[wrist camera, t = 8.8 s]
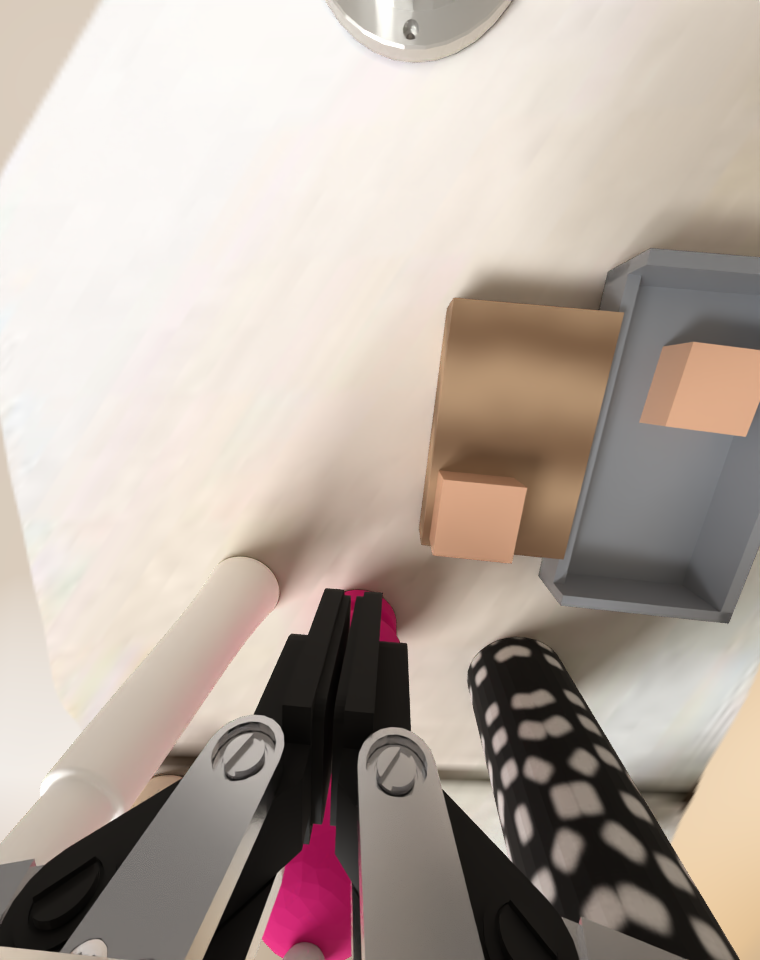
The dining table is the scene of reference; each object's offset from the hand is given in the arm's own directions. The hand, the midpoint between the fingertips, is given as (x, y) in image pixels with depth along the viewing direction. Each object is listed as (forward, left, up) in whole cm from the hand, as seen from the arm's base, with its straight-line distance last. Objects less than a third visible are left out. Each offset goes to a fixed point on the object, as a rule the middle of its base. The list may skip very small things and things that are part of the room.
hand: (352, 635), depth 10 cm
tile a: (-9, +20, -14) cm, 26 cm away
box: (-4, +19, -18) cm, 26 cm away
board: (-4, +8, -18) cm, 20 cm away
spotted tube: (+17, +13, -18) cm, 28 cm away
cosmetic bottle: (+11, -11, -18) cm, 23 cm away
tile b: (+1, +6, -15) cm, 16 cm away
